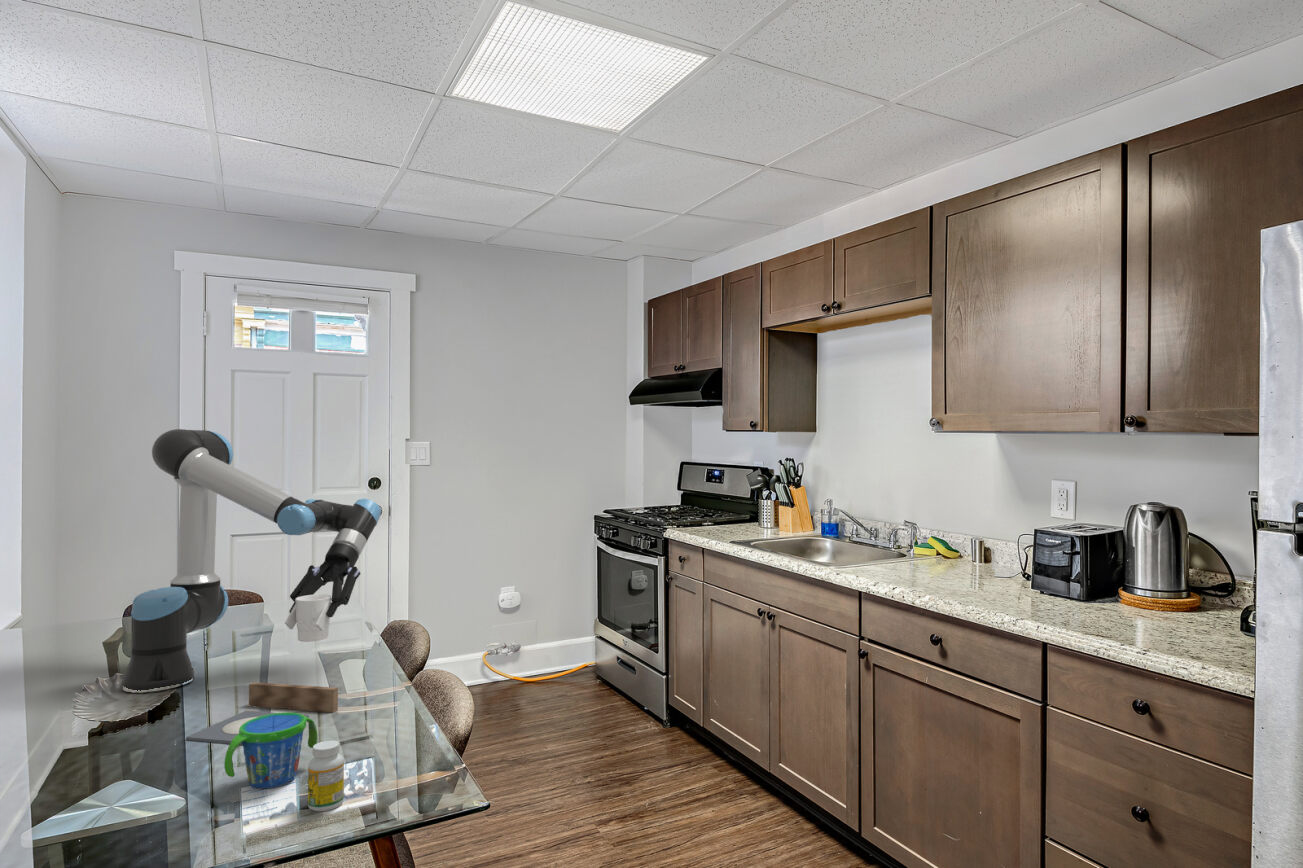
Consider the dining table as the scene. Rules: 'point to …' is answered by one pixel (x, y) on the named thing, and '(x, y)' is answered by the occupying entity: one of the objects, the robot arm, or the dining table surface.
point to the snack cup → (271, 748)
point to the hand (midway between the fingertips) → (303, 626)
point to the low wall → (293, 697)
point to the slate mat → (226, 728)
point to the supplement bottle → (325, 777)
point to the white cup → (311, 617)
